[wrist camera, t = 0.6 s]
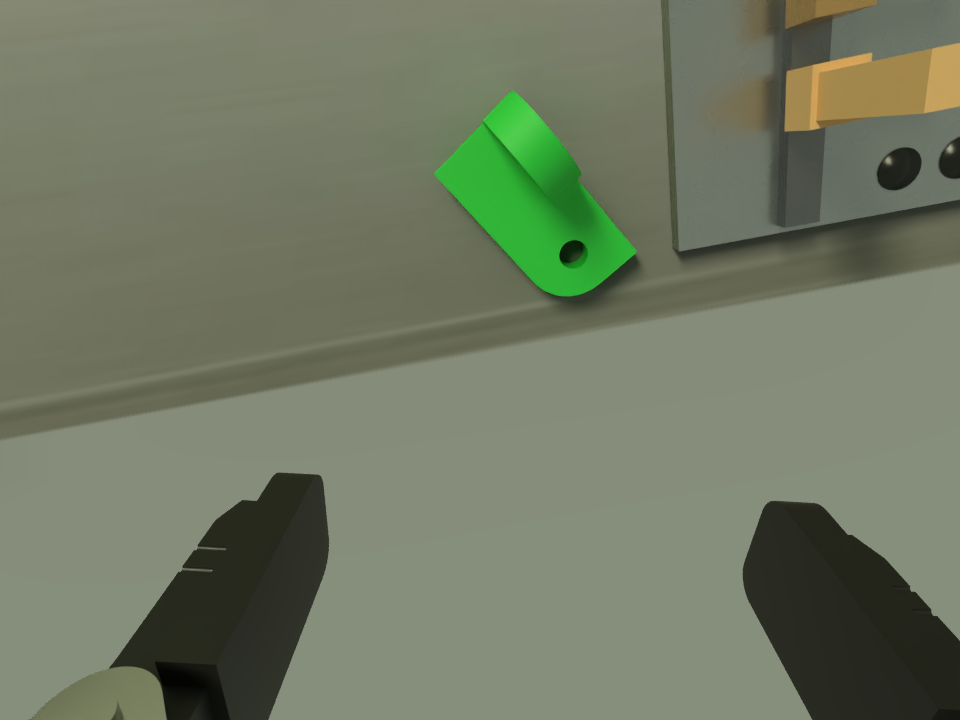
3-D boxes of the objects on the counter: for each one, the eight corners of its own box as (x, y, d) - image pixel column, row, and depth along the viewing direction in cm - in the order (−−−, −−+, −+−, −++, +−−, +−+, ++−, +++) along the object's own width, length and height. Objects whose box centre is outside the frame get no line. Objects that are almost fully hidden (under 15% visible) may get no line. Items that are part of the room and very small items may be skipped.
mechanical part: (436, 172, 32) (422, 181, 25) (507, 98, 30) (513, 85, 23) (559, 305, 35) (578, 348, 28) (628, 246, 34) (668, 274, 26)
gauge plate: (661, -3, 28) (694, -30, 24) (1051, -92, 26) (1166, -139, 22) (672, 248, 34) (701, 264, 29) (997, 187, 32) (1081, 194, 27)
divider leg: (775, 73, 28) (925, 38, 19) (924, 42, 28) (1158, -12, 18) (774, 131, 29) (913, 126, 20) (916, 103, 29) (1132, 82, 19)
